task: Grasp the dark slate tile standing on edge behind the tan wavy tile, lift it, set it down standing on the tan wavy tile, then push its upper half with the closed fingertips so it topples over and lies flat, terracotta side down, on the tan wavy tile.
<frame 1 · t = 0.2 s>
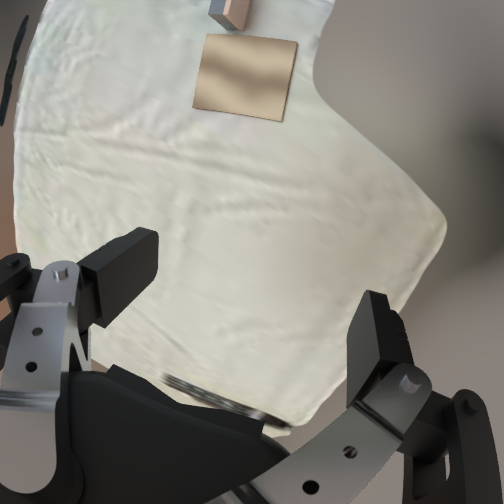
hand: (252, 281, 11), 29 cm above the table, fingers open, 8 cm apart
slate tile: (239, 12, 29), on the table
tan wavy tile: (243, 74, 33), on the table
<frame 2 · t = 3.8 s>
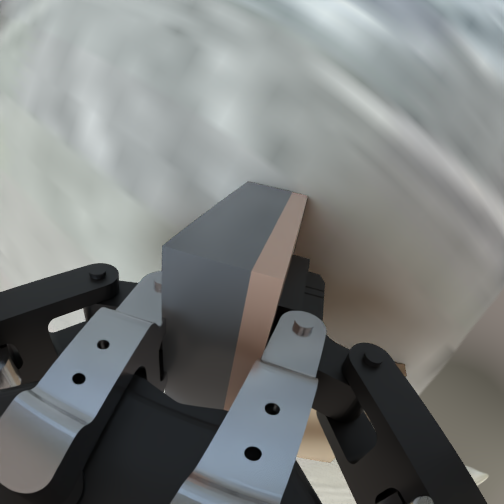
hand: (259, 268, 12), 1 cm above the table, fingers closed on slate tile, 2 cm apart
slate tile: (263, 256, 13), on the table, touching gripper
tan wavy tile: (273, 401, 16), on the table
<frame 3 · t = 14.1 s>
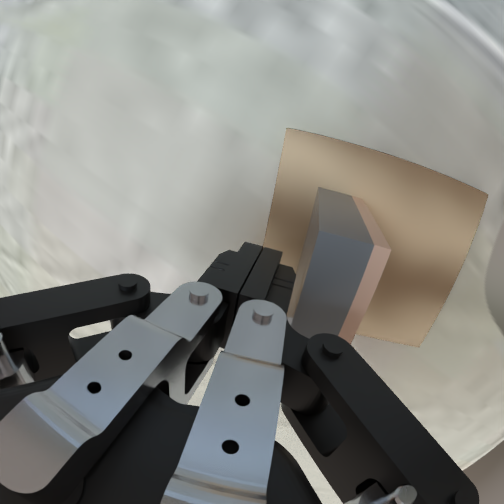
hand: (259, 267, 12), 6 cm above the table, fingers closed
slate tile: (326, 244, 16), point 1 cm above the table, touching tan wavy tile, gripper
tan wavy tile: (369, 248, 16), on the table
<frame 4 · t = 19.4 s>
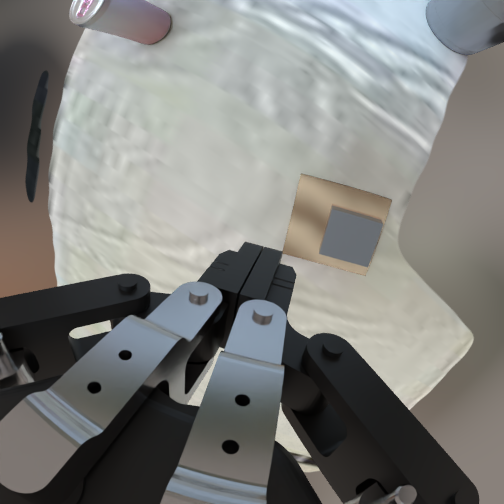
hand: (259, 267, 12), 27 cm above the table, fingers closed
beverage can: (155, 28, 31), on the table
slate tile: (325, 228, 36), point 2 cm above the table, tilted 90°, touching tan wavy tile
tan wavy tile: (335, 225, 37), on the table
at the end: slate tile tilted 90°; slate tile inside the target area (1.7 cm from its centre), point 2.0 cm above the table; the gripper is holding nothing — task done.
